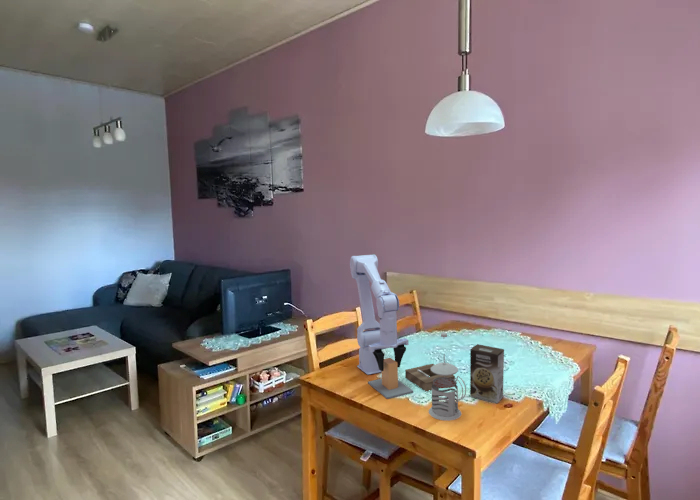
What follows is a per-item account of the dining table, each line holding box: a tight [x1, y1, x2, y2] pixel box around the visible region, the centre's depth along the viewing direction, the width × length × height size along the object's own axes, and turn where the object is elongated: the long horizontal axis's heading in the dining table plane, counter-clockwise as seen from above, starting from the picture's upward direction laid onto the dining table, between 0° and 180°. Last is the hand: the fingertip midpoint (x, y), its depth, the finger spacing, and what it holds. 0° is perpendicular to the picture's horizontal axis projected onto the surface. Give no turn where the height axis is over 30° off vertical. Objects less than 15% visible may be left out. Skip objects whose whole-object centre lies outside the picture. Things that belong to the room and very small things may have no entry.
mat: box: [367, 377, 414, 400], centre depth 151 cm, size 14×10×1 cm
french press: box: [428, 331, 467, 422], centre depth 131 cm, size 10×12×25 cm
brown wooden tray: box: [404, 363, 456, 392], centre depth 156 cm, size 13×12×4 cm
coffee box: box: [469, 343, 505, 404], centre depth 141 cm, size 9×6×16 cm
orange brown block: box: [381, 357, 399, 390], centre depth 151 cm, size 5×4×9 cm
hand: (389, 368), depth 151 cm, fingers open, 6 cm apart
